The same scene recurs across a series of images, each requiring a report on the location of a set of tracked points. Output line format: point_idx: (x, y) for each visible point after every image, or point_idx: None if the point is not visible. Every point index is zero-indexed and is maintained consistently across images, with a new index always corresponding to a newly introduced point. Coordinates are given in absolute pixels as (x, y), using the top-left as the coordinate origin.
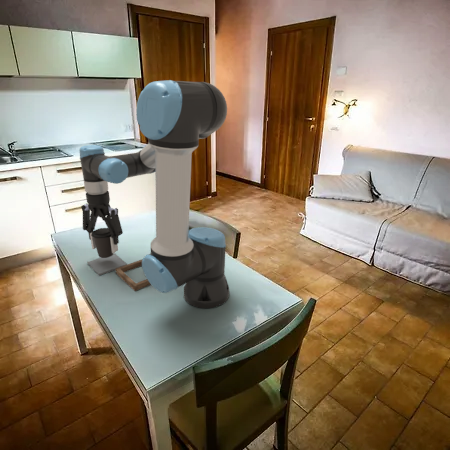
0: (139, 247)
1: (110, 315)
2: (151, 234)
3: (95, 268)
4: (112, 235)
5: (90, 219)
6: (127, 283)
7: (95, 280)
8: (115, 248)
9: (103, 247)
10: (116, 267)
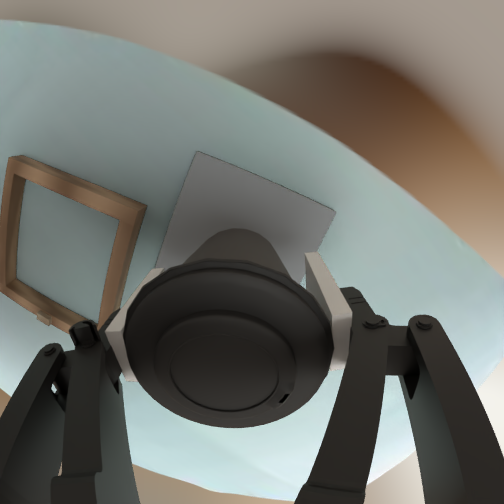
0: None
1: (22, 37)
2: (255, 457)
3: (251, 181)
4: (89, 343)
5: (366, 453)
6: (58, 170)
7: (185, 115)
8: None
9: (190, 256)
10: (167, 236)
